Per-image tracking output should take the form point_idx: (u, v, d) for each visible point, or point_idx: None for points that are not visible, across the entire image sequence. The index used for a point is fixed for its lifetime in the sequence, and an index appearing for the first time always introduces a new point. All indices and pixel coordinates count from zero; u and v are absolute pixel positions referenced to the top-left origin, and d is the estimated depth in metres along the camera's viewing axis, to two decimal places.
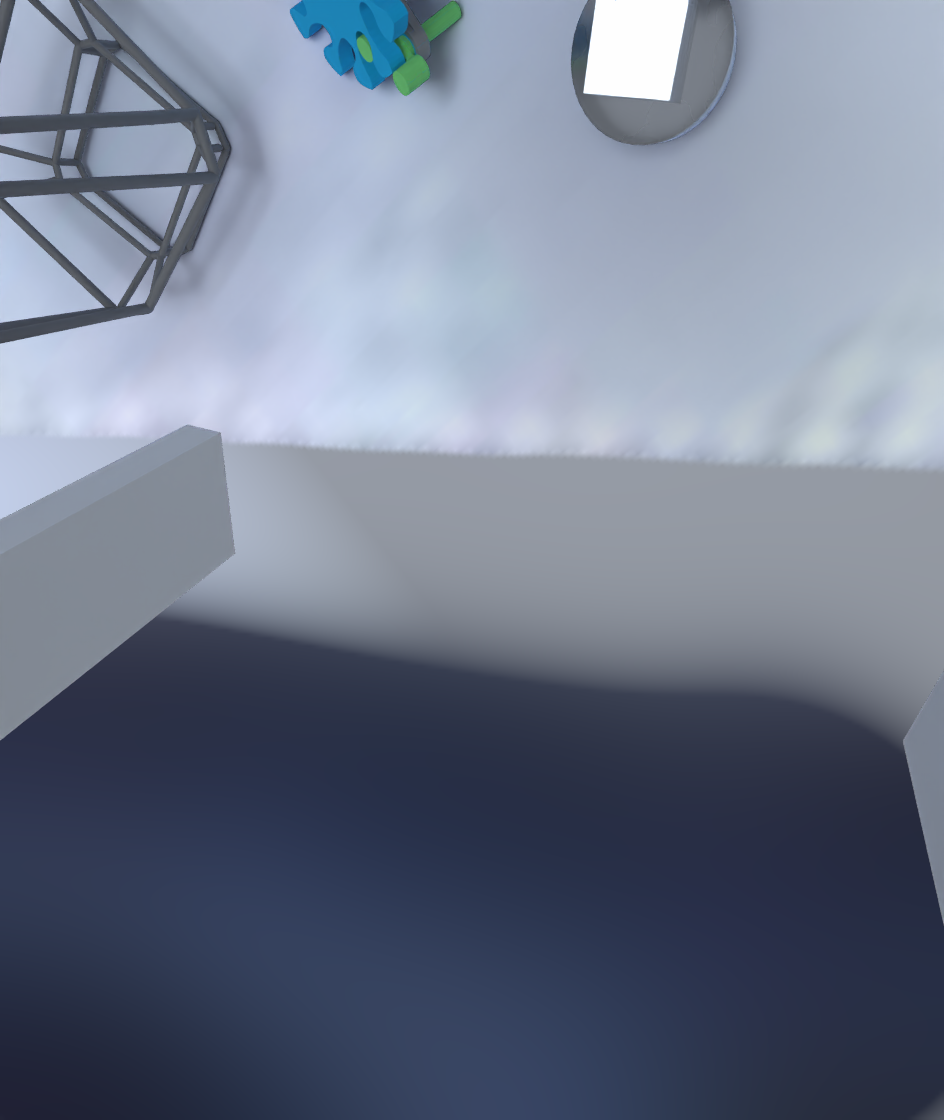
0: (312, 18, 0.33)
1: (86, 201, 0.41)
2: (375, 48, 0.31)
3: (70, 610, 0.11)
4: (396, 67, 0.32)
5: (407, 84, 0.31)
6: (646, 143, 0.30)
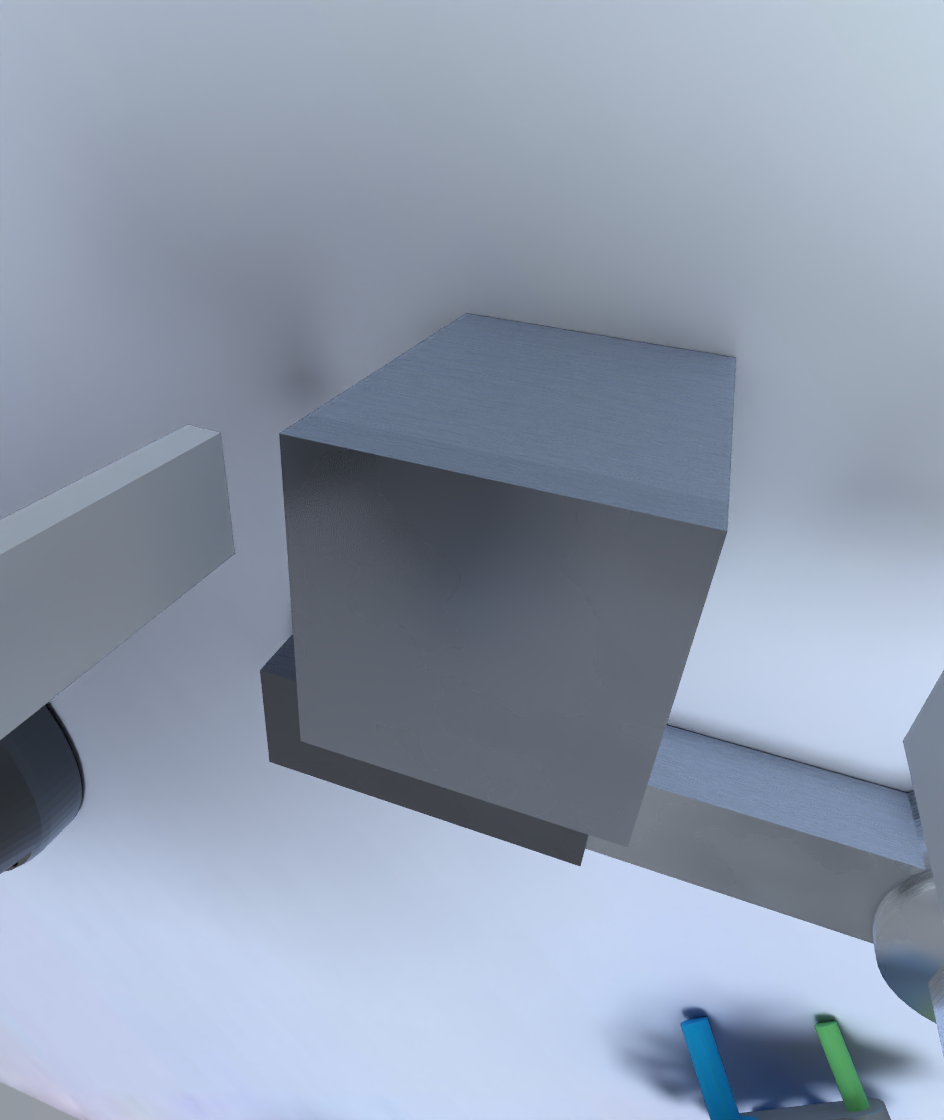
0: None
1: None
2: None
3: (70, 610, 0.11)
4: None
5: None
6: None
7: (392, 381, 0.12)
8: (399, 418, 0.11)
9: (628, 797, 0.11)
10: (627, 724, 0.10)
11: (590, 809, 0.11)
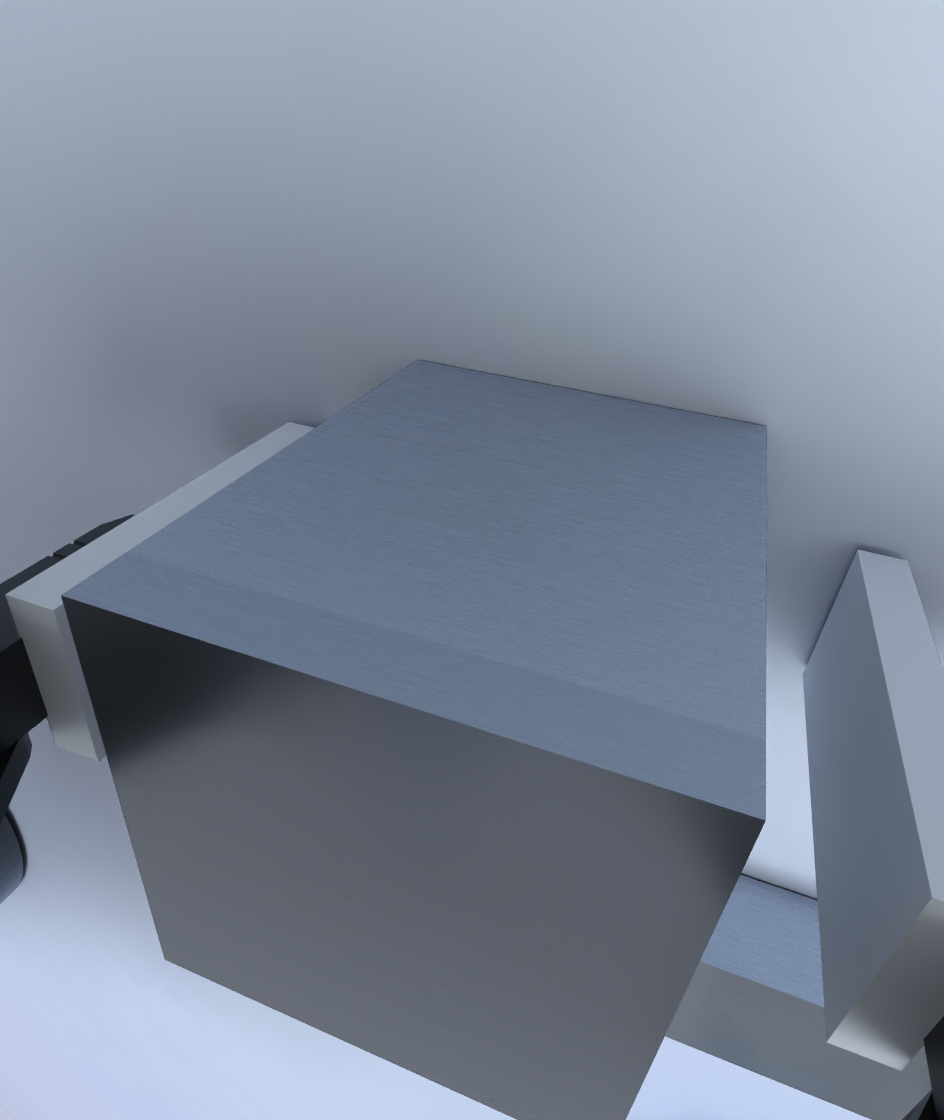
0: None
1: None
2: None
3: None
4: None
5: None
6: None
7: (280, 480, 0.08)
8: (265, 556, 0.07)
9: (606, 1109, 0.08)
10: (602, 1031, 0.07)
11: (552, 1110, 0.08)
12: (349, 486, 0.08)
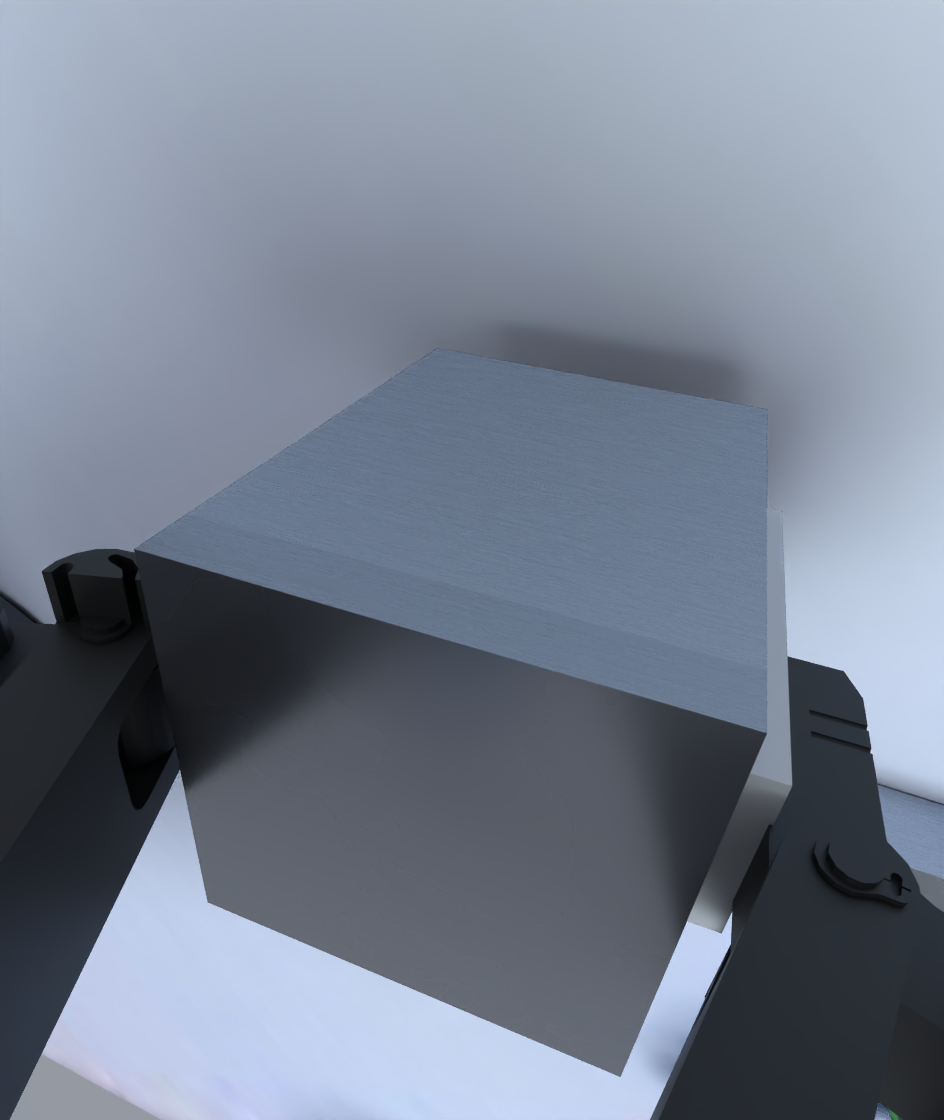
0: None
1: None
2: None
3: None
4: None
5: None
6: None
7: (319, 454, 0.09)
8: (313, 517, 0.08)
9: (620, 1025, 0.08)
10: (618, 946, 0.08)
11: (570, 1029, 0.09)
12: (383, 459, 0.09)
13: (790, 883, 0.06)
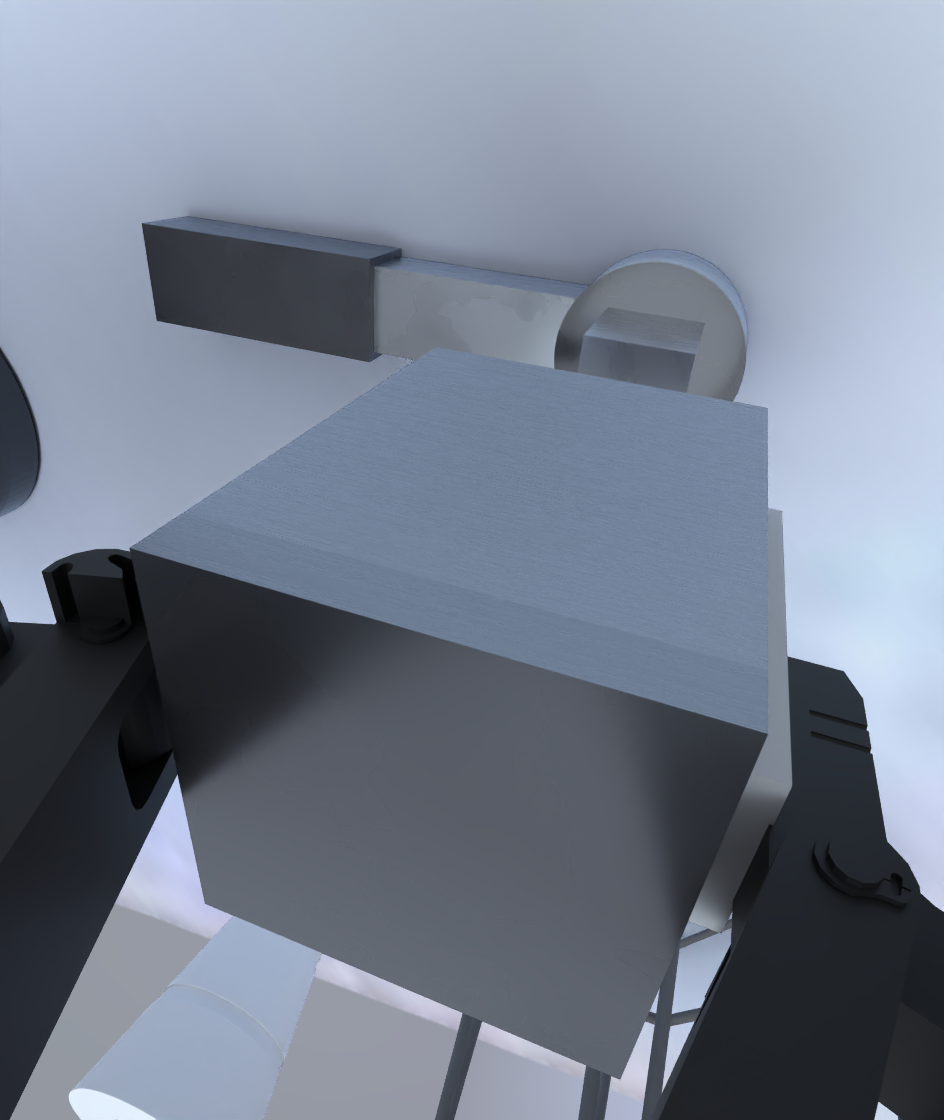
0: None
1: (687, 941, 0.39)
2: None
3: None
4: None
5: None
6: (743, 363, 0.23)
7: (317, 452, 0.09)
8: (310, 516, 0.08)
9: (620, 1027, 0.08)
10: (618, 948, 0.07)
11: (570, 1032, 0.09)
12: (381, 458, 0.09)
13: (790, 883, 0.06)
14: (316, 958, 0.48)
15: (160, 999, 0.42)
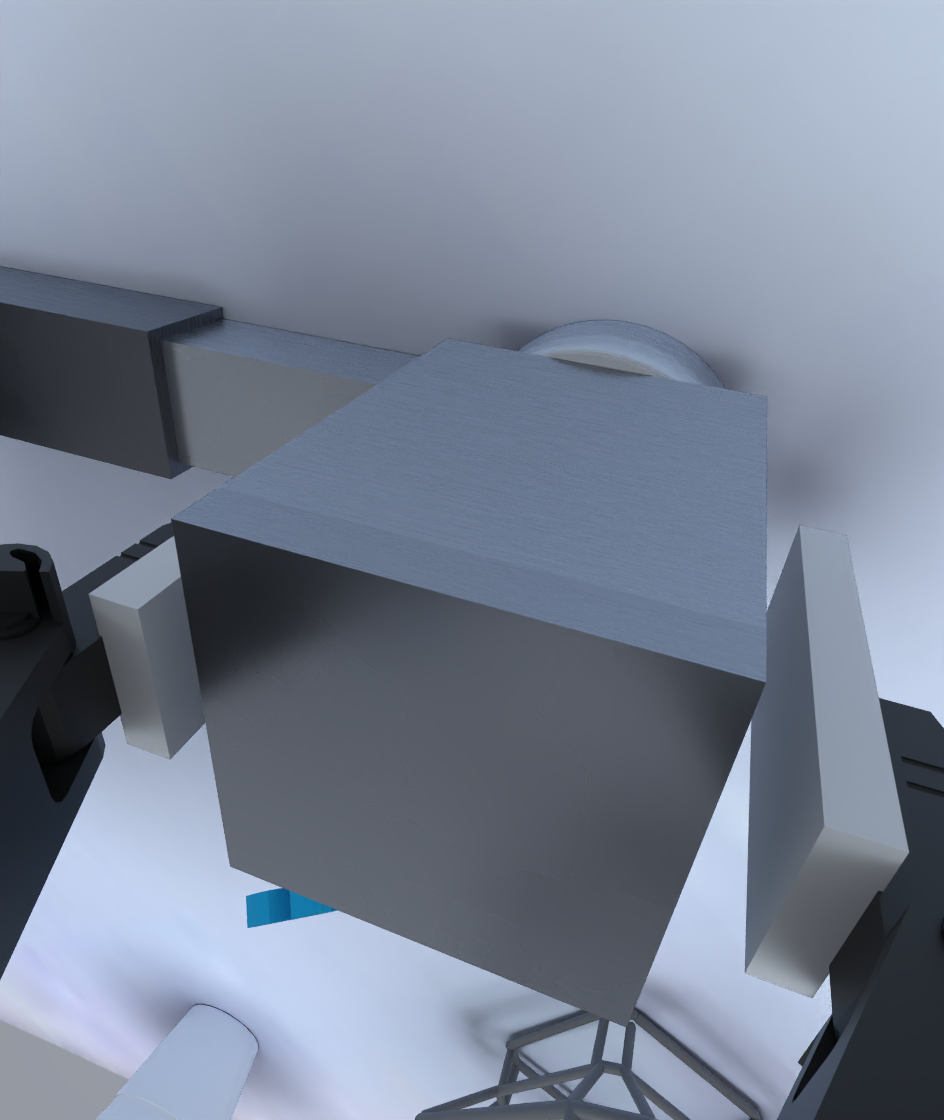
0: None
1: None
2: None
3: None
4: None
5: None
6: None
7: (339, 435, 0.10)
8: (336, 492, 0.08)
9: (627, 975, 0.09)
10: (626, 896, 0.08)
11: (579, 981, 0.09)
12: (400, 440, 0.10)
13: (917, 959, 0.06)
14: None
15: None
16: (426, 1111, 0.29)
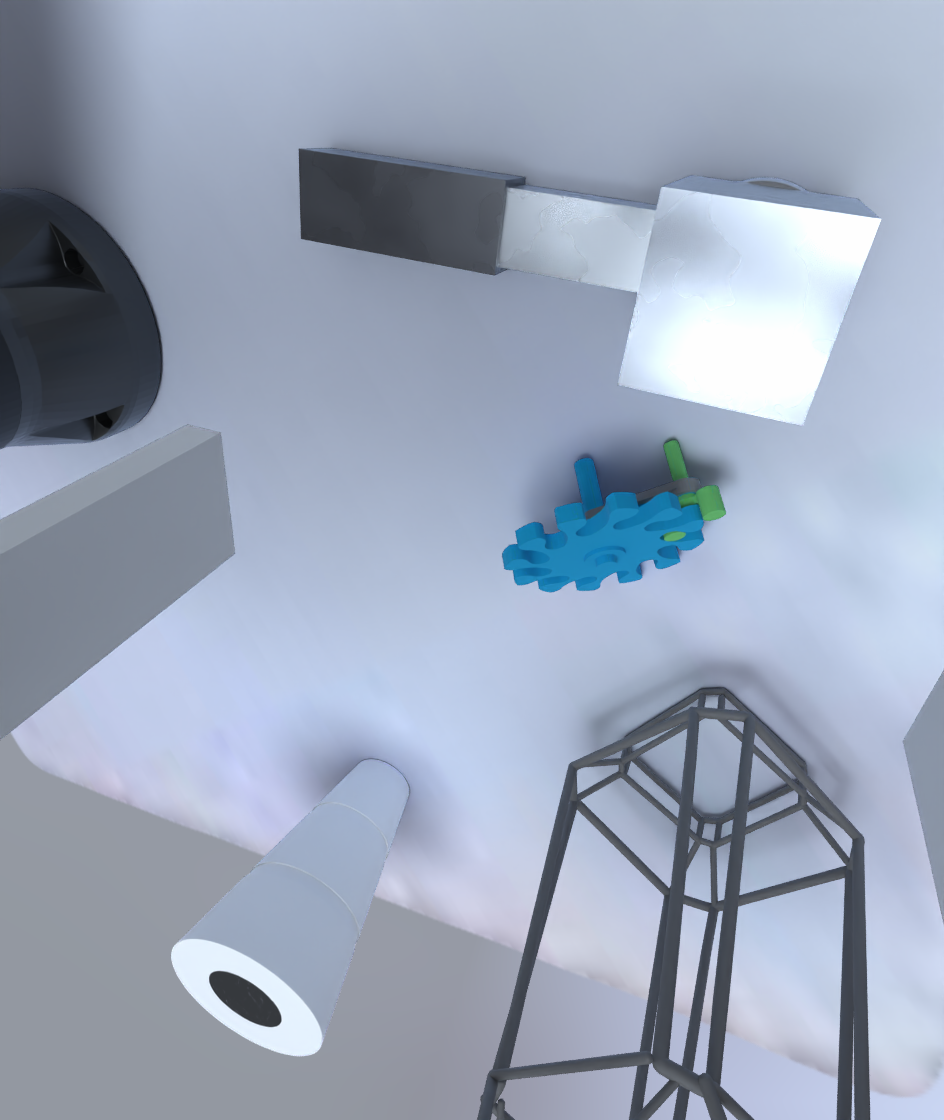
0: (633, 568, 0.38)
1: None
2: (678, 527, 0.34)
3: (70, 610, 0.11)
4: (699, 514, 0.33)
5: (717, 510, 0.32)
6: None
7: (687, 183, 0.23)
8: (707, 190, 0.22)
9: (808, 389, 0.22)
10: (815, 340, 0.21)
11: (785, 402, 0.22)
12: (713, 187, 0.23)
13: None
14: (385, 854, 0.52)
15: (250, 874, 0.46)
16: None
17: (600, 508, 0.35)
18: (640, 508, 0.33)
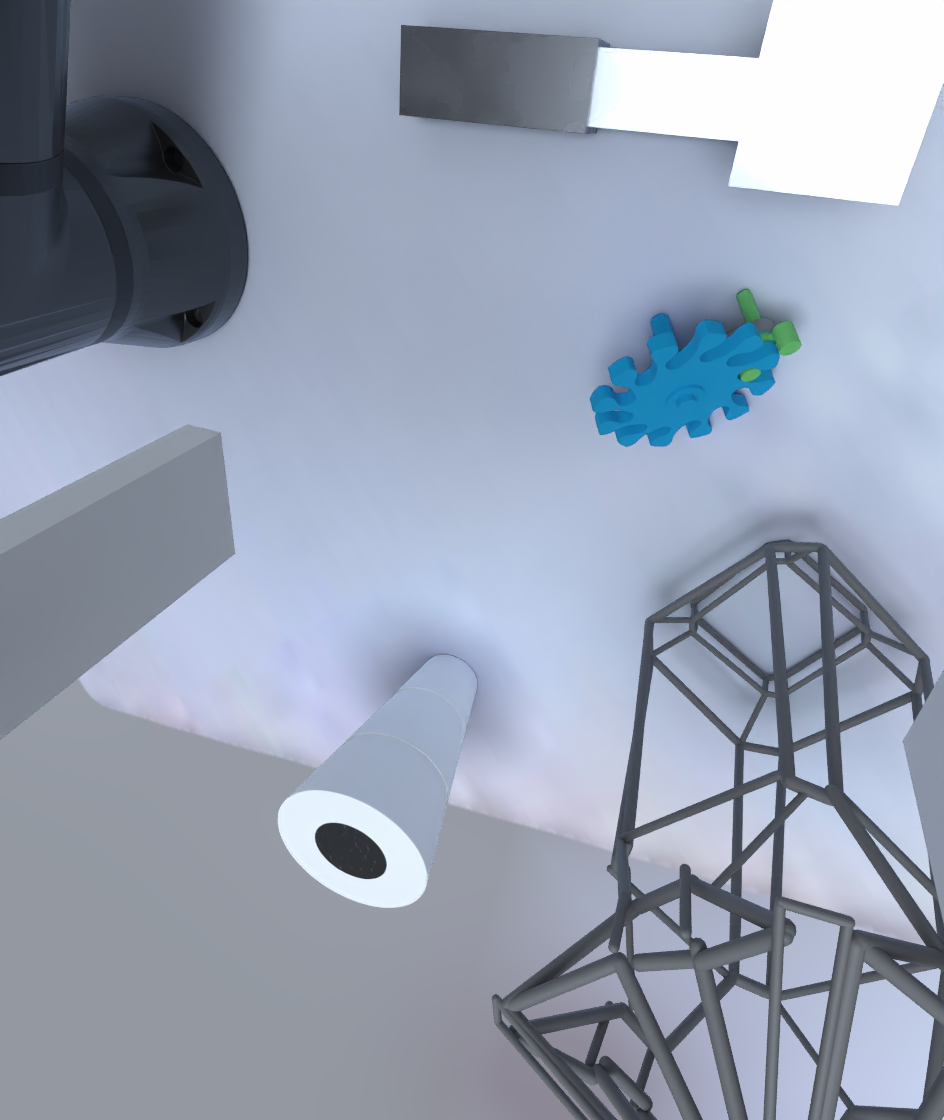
0: (705, 417, 0.41)
1: (803, 681, 0.46)
2: (756, 363, 0.37)
3: (70, 610, 0.11)
4: (776, 349, 0.36)
5: (794, 341, 0.35)
6: None
7: None
8: None
9: (904, 169, 0.25)
10: (912, 119, 0.24)
11: (883, 184, 0.26)
12: None
13: None
14: (462, 734, 0.55)
15: (345, 744, 0.49)
16: None
17: None
18: (723, 342, 0.36)
